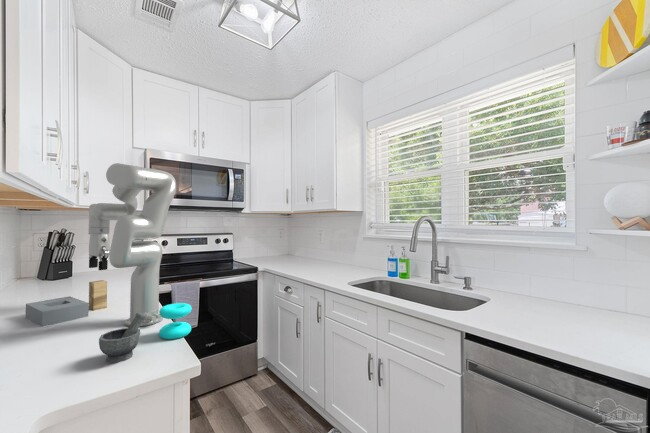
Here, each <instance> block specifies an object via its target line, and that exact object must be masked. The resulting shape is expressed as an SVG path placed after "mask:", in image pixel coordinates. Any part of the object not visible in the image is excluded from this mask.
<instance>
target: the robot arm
mask: <svg viewBox="0 0 650 433" xmlns="http://www.w3.org/2000/svg"><path fill="white" fill-rule="evenodd" d="M105 177H106V180H107V182H108V183H109V184H111V185H112V186H113V188H112V189H111V190H112V194H113V197H115V198H116V199H117V200H118V201H121V202H123V203H109V202H107V203H105V202H100V203H92V204H90V205H89V206H88V232H87V233H88V235H89V244H88V268H89V269H93V268H94V269H95V268H98V271H106V270H108V262H109V263H110V265H111V266H112V267H114V268H116V269H126V268H133V267H136V268H134V270H133V272H132V274H131V277H130V297H129V299H130V300H129V301H130V302H129V305H130V307H129V318H127V319H126V320H125V321H124V325H125V326H127V327H129V325H130V324H131V323H132V321H133V320H134V318H135V315H136V313H143V314H145V315H146V317H145V318H144V319H143V320H142V322H141V324H140V326H139V327H144V326H145V327H146V326H149V325H155V324H157V323H159V322H161V321H162V320H163V319H164V318H163V317H161V316H160V314H159V311H160V307H159V306H160V305H159V304H160V302H159V301H160V300H159V299H160V297H159V296H160V267H161V266H160V265H161V262H162V257H163V247H162V246H161V244H160V243H159V242H158V241H156V240H155V239H159V238H160V237H162V235H163V233H164V230H165V227H166V221H167V217H168V214H169V208H170V206H171V203H172V201H173V199H174V198H175V194H176V191H177V181H176V179H175V177H174V175H173V174H172V173H169V172H168V171H164V170H161V169H156V168H149V167H142V166H137V165H131V164H125V163H121V162H119V163H118V162H117V163H113V164H111V165H110V166H108V168H107V170H106V172H105ZM142 191H152V192H153V193H152V194H150V195H149V196H148V197H147V198H146V200H145V201H144V203H143V205H142V211H141V213H140V214H135V213H136V211H137V208H138V199H137V196H138V195H140V194H139V193H140V192H142ZM111 221H116V223H115V225H114V229H113V234H112V238H111V239H112V240H110V229H111V228H110V225H111V224H110V222H111ZM153 240H155V241H153Z"/></svg>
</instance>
